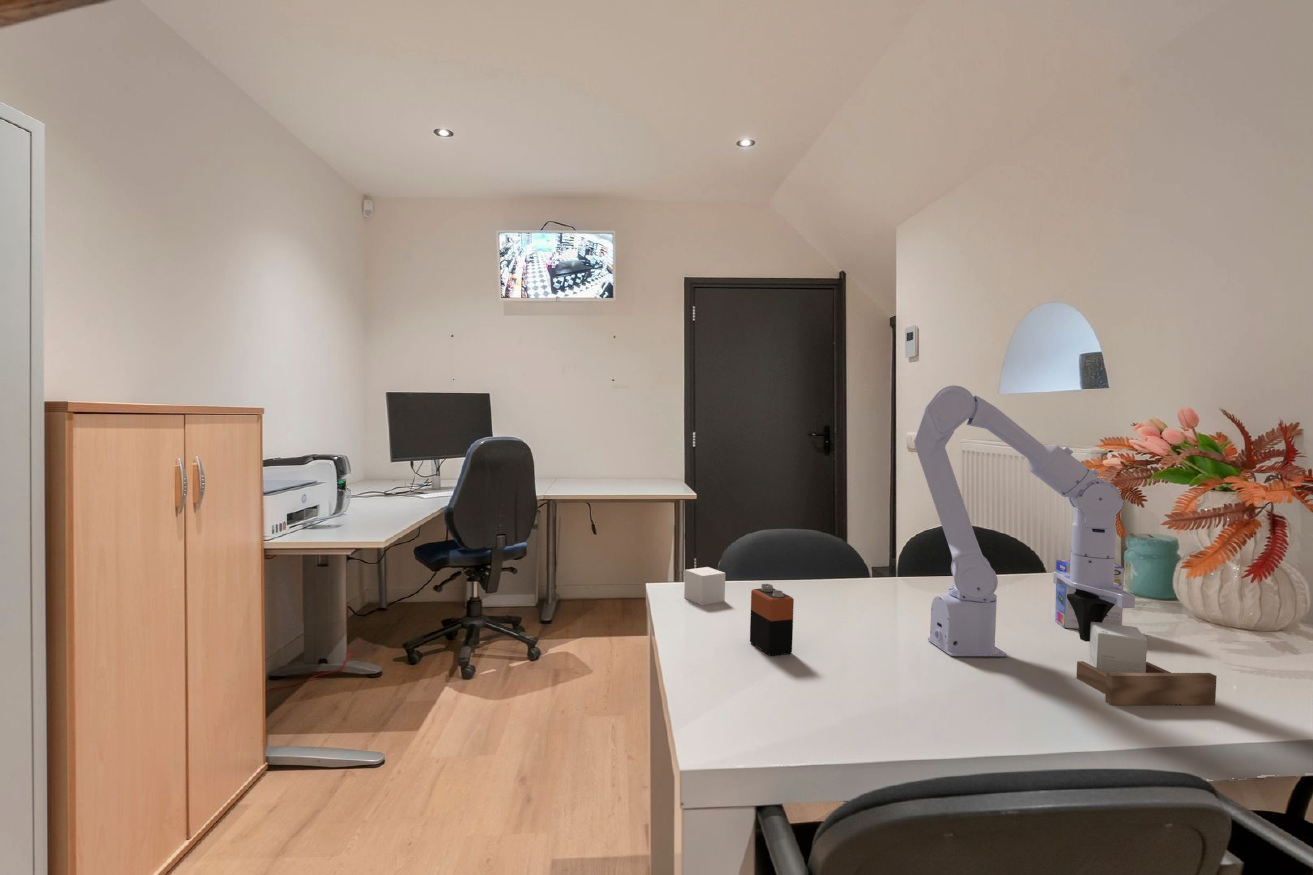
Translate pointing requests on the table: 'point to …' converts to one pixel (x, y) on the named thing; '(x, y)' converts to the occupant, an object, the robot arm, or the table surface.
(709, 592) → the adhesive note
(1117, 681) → the walnut holder
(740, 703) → the table surface
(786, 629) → the battery
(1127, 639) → the product box
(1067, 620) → the ink cartridge box
